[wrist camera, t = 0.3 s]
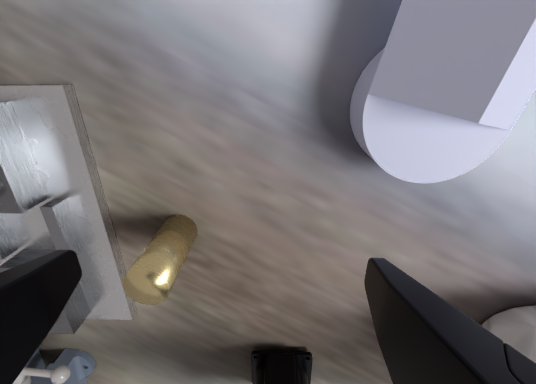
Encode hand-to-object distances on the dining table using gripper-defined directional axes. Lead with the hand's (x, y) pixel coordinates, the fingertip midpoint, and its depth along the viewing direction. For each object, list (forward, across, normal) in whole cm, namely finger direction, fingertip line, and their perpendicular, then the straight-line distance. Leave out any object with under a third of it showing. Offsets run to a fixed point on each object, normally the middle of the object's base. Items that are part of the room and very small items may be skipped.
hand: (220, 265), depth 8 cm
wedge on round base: (+10, -13, -12) cm, 20 cm away
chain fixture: (+14, +19, +6) cm, 24 cm away
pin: (+14, +7, +7) cm, 17 cm away
